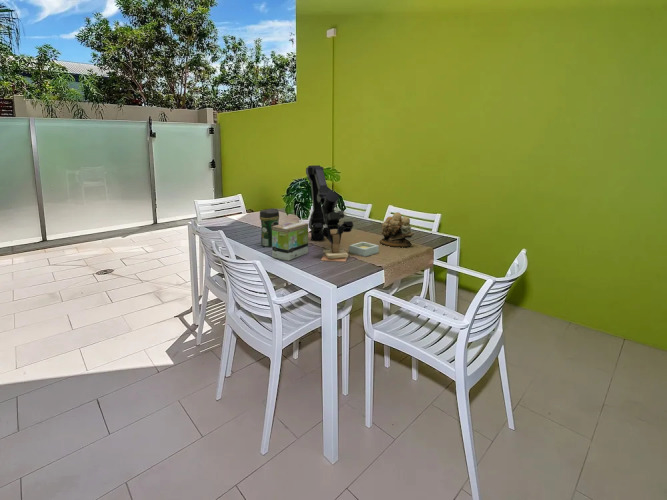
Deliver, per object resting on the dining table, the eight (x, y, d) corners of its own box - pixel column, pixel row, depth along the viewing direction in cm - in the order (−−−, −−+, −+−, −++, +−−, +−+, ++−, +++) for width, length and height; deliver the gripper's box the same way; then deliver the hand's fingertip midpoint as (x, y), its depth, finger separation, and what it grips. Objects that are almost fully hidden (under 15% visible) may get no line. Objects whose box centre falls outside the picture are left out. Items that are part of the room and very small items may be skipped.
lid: (323, 254, 174) (323, 232, 171) (341, 252, 177) (341, 231, 174) (328, 260, 166) (328, 237, 163) (347, 258, 169) (348, 236, 166)
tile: (321, 260, 167) (321, 259, 167) (325, 253, 178) (325, 252, 178) (345, 262, 166) (345, 261, 165) (348, 254, 176) (348, 253, 176)
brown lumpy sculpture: (416, 244, 194) (419, 211, 189) (409, 250, 184) (411, 216, 179) (384, 239, 203) (385, 208, 198) (375, 244, 193) (376, 212, 188)
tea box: (289, 261, 167) (288, 228, 162) (272, 257, 172) (270, 226, 167) (309, 253, 179) (308, 222, 175) (292, 249, 184) (291, 220, 180)
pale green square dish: (349, 252, 180) (349, 245, 179) (363, 248, 186) (363, 241, 185) (364, 256, 173) (364, 249, 172) (378, 252, 179) (378, 245, 178)
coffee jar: (272, 241, 198) (271, 206, 193) (283, 244, 193) (281, 208, 188) (258, 245, 191) (256, 209, 185) (268, 248, 186) (267, 211, 181)
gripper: (312, 205, 166) (319, 235, 159) (352, 203, 171) (360, 232, 164) (308, 219, 175) (314, 248, 169) (346, 217, 181) (354, 245, 174)
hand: (336, 243), depth 169 cm, fingers closed on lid, 3 cm apart
